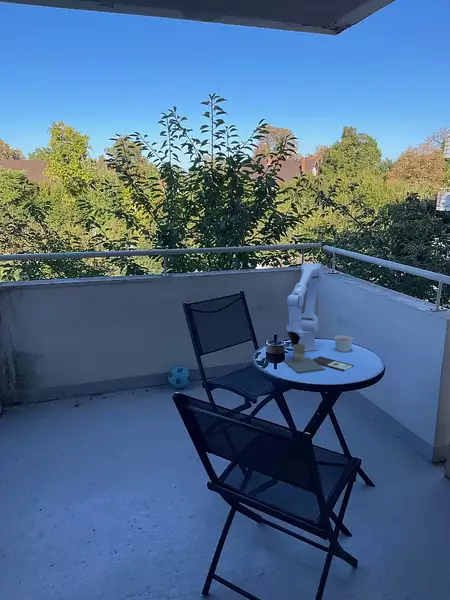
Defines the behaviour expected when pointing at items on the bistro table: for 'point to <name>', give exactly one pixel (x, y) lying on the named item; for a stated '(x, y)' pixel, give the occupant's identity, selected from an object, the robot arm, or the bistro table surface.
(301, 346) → the ash tile
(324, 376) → the bistro table surface
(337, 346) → the candle
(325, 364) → the chocolate bar
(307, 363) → the rubber mat
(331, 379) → the bistro table surface
